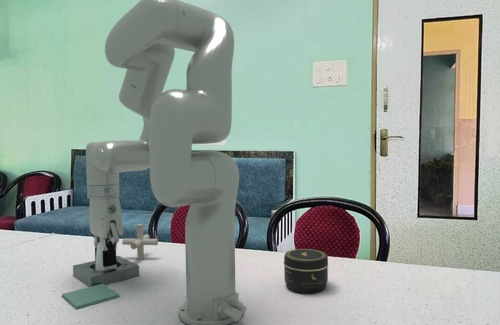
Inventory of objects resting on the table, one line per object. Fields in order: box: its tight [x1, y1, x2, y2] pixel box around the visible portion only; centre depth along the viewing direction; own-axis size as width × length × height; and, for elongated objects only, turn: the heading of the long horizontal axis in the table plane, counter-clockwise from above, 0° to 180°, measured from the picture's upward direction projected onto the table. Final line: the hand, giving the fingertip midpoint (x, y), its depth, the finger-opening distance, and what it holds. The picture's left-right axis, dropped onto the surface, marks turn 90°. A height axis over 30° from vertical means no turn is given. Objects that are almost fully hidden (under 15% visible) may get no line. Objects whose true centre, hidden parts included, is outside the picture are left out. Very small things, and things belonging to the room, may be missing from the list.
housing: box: [72, 255, 140, 287], centre depth 98 cm, size 12×12×3 cm
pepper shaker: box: [95, 235, 117, 271], centre depth 98 cm, size 5×5×11 cm
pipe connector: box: [121, 223, 159, 261], centre depth 112 cm, size 10×10×10 cm
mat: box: [61, 284, 120, 310], centre depth 85 cm, size 9×9×1 cm
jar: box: [283, 248, 329, 295], centre depth 89 cm, size 10×10×8 cm
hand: (105, 262), depth 98 cm, fingers open, 4 cm apart
